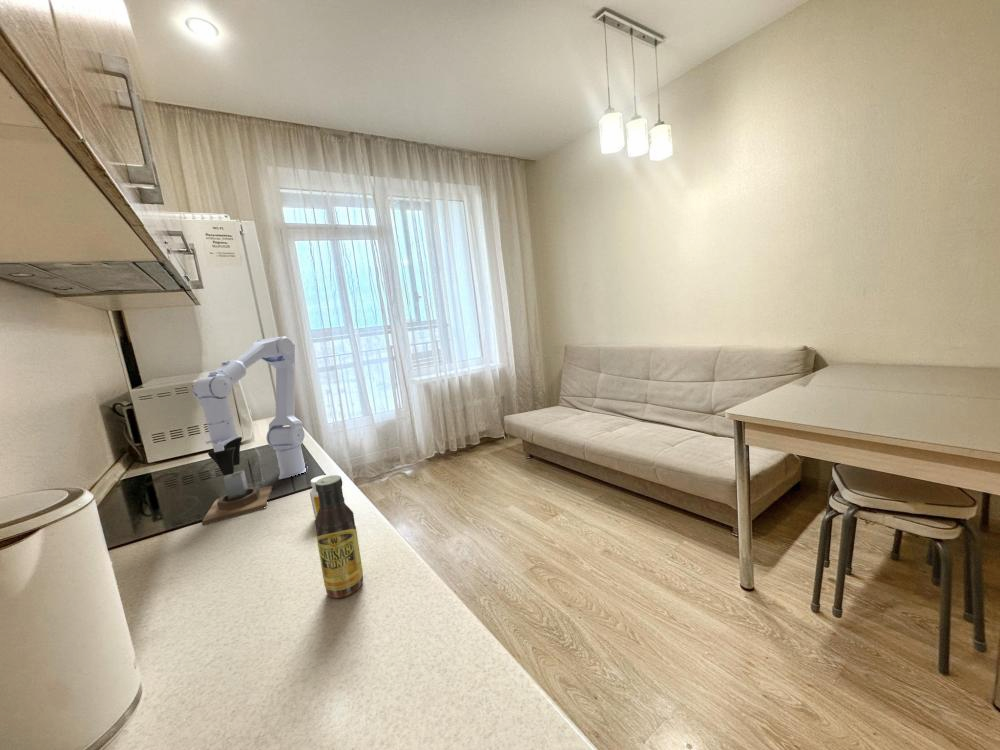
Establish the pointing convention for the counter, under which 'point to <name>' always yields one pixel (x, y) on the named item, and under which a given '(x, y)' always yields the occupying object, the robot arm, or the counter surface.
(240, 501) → the holder board
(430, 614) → the counter surface
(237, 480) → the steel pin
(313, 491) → the supplement bottle
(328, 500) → the sauce bottle
